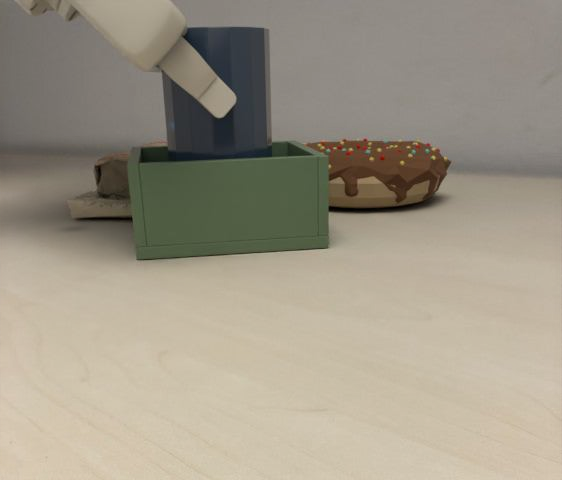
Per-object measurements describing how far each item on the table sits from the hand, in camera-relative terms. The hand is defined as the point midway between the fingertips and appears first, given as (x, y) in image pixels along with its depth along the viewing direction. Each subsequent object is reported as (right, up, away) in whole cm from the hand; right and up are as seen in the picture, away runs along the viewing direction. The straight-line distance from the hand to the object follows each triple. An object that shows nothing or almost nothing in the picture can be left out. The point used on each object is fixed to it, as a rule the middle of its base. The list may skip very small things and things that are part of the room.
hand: (226, 107), depth 47 cm
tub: (0, -8, +3) cm, 9 cm away
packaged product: (-7, -2, +17) cm, 19 cm away
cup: (0, -5, +2) cm, 5 cm away
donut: (+11, -3, +15) cm, 19 cm away
